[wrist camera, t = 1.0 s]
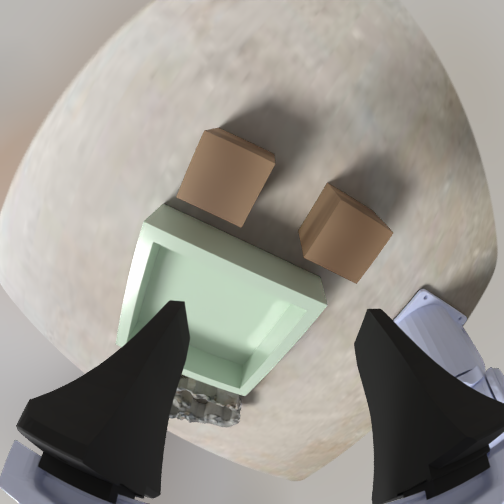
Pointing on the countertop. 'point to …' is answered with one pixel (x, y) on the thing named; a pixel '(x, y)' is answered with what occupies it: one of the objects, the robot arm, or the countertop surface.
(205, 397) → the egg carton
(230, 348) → the dish
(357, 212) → the block
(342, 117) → the countertop surface
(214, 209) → the block
